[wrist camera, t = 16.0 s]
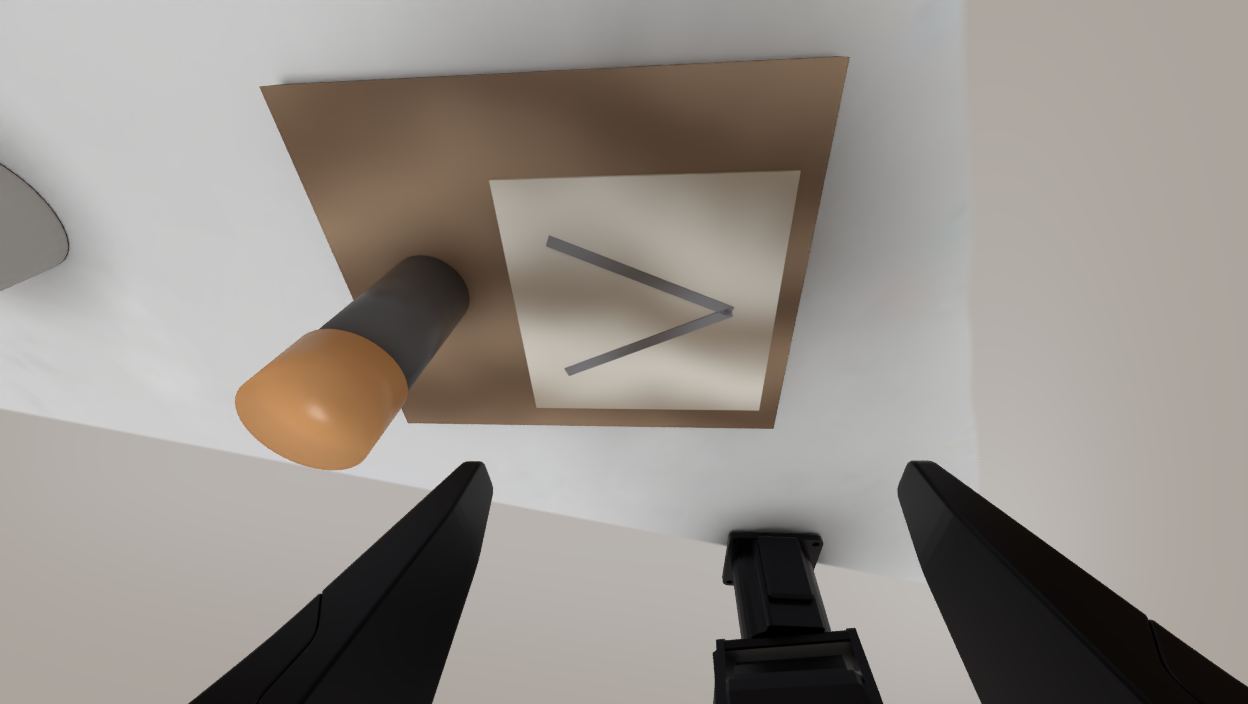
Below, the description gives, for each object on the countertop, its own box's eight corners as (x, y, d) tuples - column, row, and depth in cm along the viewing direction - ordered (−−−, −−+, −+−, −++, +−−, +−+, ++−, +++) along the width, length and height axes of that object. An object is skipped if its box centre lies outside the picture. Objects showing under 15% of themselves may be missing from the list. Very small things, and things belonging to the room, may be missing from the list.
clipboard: (768, 413, 25) (774, 432, 24) (417, 409, 27) (405, 426, 26) (837, 56, 16) (852, 57, 14) (282, 84, 17) (253, 87, 16)
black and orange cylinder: (480, 326, 22) (387, 471, 14) (405, 326, 22) (275, 468, 15) (460, 251, 19) (338, 376, 12) (376, 252, 20) (207, 375, 12)
